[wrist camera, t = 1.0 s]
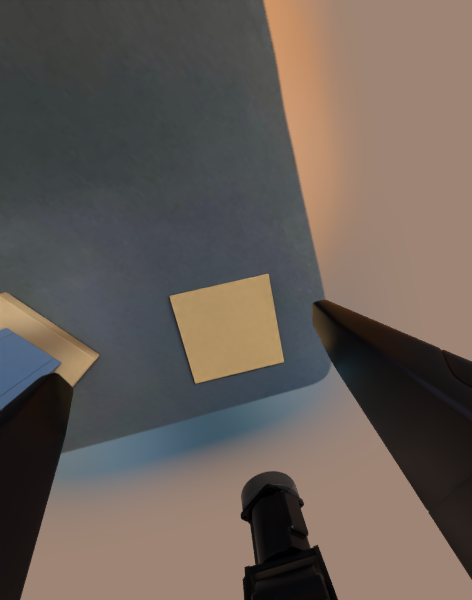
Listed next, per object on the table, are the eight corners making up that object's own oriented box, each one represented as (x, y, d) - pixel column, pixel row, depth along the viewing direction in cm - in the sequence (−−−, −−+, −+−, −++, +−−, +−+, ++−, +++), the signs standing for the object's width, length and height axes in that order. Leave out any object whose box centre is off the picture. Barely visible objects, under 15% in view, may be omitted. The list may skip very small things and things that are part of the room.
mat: (283, 360, 25) (284, 362, 25) (195, 382, 25) (195, 383, 25) (267, 273, 23) (268, 274, 22) (170, 295, 22) (169, 296, 22)
